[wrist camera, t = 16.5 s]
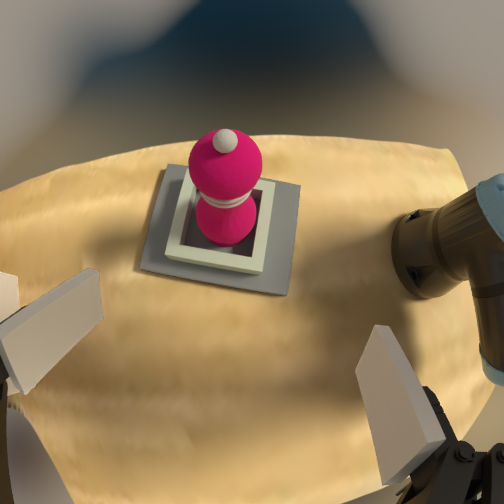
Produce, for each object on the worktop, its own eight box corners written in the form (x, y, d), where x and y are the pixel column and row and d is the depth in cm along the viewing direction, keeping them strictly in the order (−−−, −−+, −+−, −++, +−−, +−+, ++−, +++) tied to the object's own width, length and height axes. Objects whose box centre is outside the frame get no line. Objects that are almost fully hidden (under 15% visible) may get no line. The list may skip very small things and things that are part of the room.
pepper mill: (264, 225, 37) (298, 138, 18) (225, 262, 36) (221, 201, 16) (227, 190, 38) (228, 85, 18) (188, 224, 36) (152, 135, 17)
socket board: (298, 189, 41) (305, 175, 36) (285, 295, 37) (292, 293, 32) (169, 168, 40) (164, 153, 35) (142, 270, 36) (131, 264, 32)
